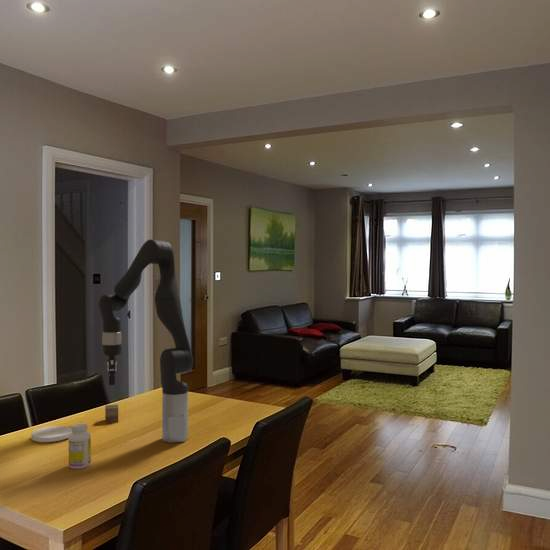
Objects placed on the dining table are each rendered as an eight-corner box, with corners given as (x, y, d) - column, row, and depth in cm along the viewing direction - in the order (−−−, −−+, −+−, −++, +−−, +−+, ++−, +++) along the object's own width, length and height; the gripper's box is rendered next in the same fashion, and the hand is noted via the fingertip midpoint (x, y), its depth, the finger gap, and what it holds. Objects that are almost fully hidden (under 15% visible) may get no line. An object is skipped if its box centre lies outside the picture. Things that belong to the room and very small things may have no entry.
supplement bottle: (83, 460, 174) (83, 421, 174) (95, 465, 170) (95, 425, 170) (64, 466, 169) (64, 425, 169) (75, 471, 165) (75, 429, 164)
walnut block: (118, 422, 216) (118, 407, 216) (105, 423, 215) (105, 408, 215) (118, 418, 221) (118, 404, 221) (105, 419, 220) (105, 405, 220)
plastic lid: (72, 430, 206) (72, 424, 206) (72, 442, 193) (72, 435, 193) (32, 434, 201) (32, 428, 201) (30, 446, 188) (30, 439, 188)
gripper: (122, 345, 212) (121, 385, 212) (121, 340, 225) (121, 378, 226) (102, 345, 210) (101, 387, 210) (102, 340, 223) (102, 379, 224)
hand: (111, 382), depth 218 cm, fingers open, 8 cm apart
